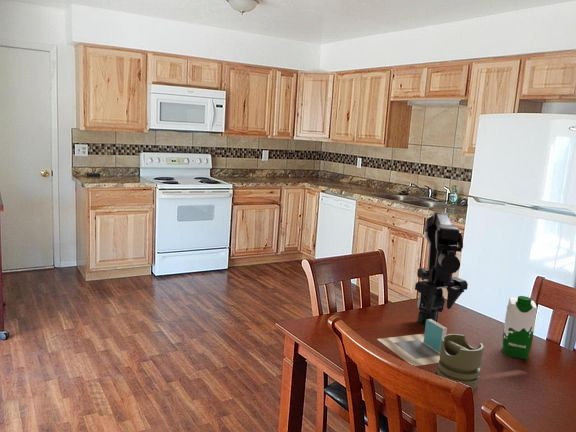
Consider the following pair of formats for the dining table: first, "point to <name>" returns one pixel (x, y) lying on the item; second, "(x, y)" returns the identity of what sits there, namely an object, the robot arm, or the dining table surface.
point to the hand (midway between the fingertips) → (438, 310)
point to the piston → (460, 360)
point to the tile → (434, 334)
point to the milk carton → (519, 327)
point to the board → (412, 349)
